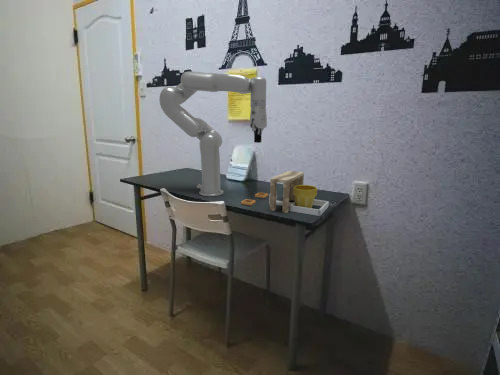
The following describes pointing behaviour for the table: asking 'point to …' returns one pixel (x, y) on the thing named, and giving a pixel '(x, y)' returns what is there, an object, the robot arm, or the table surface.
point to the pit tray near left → (261, 195)
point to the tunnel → (285, 188)
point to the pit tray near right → (248, 202)
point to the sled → (303, 209)
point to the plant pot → (304, 195)
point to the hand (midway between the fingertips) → (257, 142)
